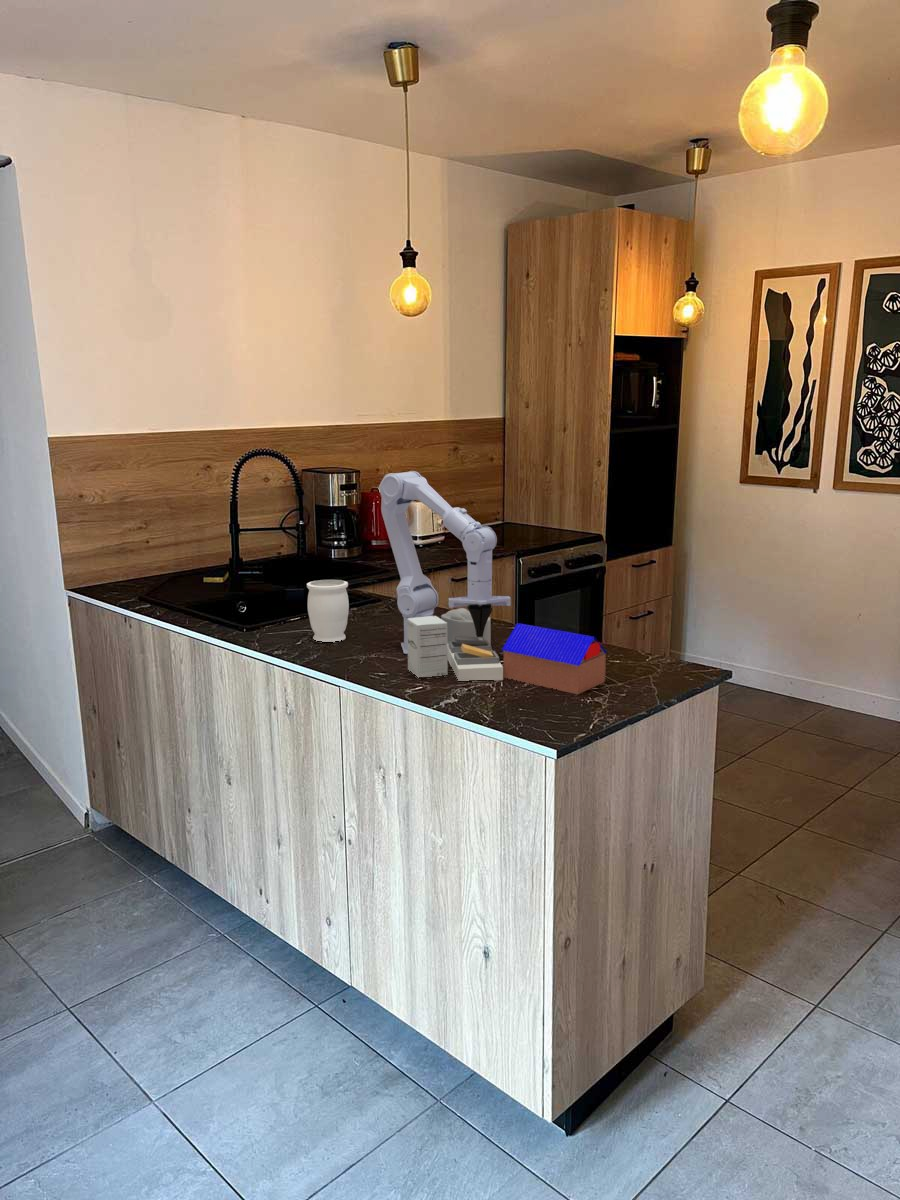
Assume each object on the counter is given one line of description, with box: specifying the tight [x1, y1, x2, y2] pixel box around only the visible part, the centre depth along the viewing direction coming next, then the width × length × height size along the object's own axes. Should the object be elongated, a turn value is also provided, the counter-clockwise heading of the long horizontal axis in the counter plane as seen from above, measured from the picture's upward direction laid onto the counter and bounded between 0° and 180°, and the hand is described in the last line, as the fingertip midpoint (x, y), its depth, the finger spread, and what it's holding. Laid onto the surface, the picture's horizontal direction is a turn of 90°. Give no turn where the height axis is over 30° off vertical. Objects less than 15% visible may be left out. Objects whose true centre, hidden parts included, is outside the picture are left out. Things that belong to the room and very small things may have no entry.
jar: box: [306, 579, 350, 643], centre depth 238 cm, size 11×10×15 cm
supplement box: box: [407, 615, 449, 679], centre depth 208 cm, size 7×7×13 cm
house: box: [501, 622, 608, 695], centre depth 203 cm, size 12×20×12 cm, turn 51°
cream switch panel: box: [447, 640, 504, 682], centre depth 213 cm, size 22×10×4 cm, turn 8°
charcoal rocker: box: [454, 636, 486, 645], centre depth 217 cm, size 4×7×1 cm, turn 98°
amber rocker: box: [461, 644, 493, 658], centre depth 208 cm, size 4×7×1 cm, turn 98°
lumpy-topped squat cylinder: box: [440, 607, 492, 646], centre depth 234 cm, size 10×13×9 cm
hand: (479, 635), depth 218 cm, fingers closed
